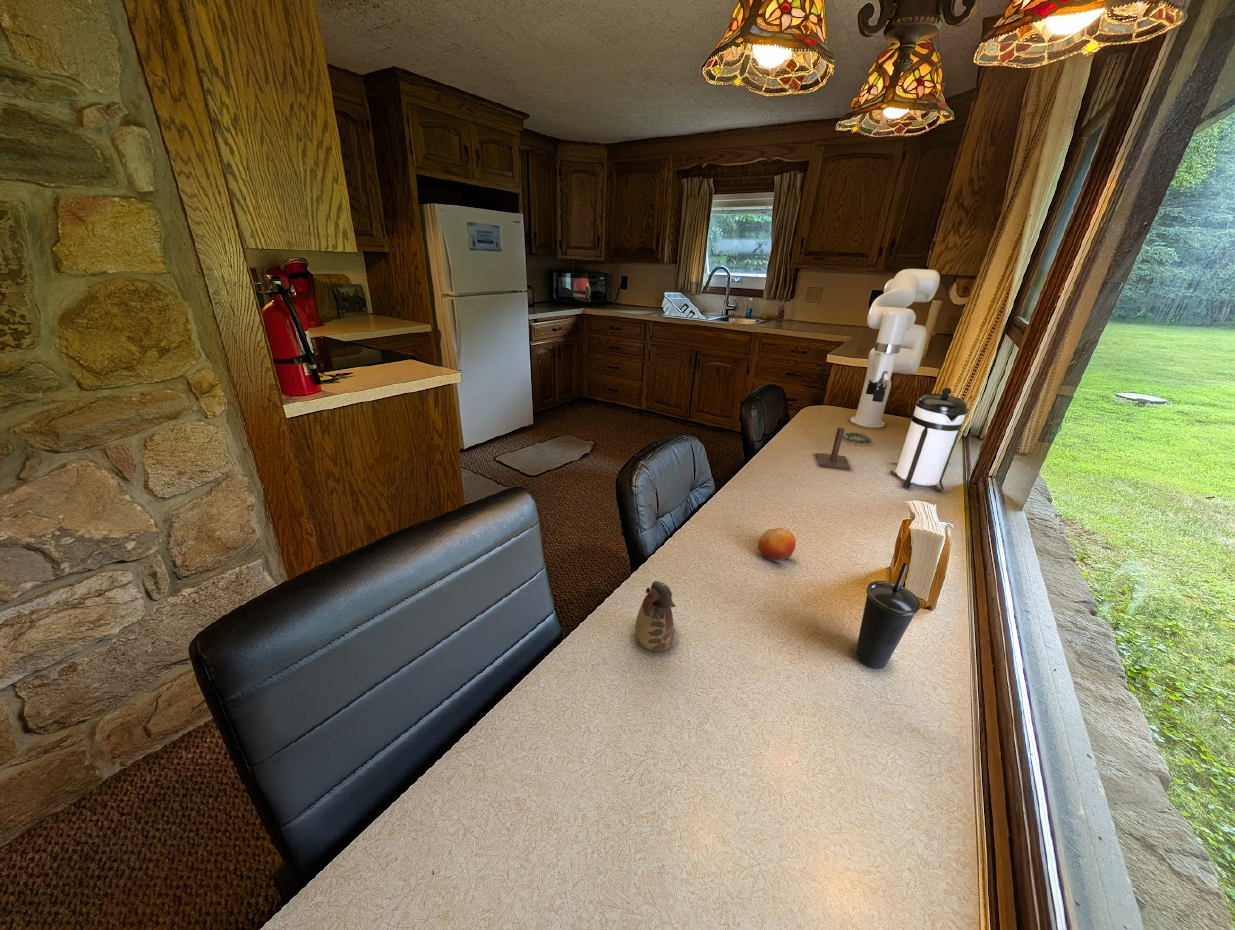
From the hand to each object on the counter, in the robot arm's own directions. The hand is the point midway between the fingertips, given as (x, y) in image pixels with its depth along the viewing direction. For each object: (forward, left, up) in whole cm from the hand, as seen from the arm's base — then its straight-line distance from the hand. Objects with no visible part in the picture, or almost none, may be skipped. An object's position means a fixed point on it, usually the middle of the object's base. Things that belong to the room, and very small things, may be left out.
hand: (873, 397), depth 162 cm
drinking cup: (+107, -19, -18) cm, 110 cm away
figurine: (+113, -56, -18) cm, 127 cm away
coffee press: (+27, +10, -18) cm, 34 cm away
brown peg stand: (+21, -13, -18) cm, 30 cm away
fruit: (+81, -34, -18) cm, 90 cm away
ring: (-4, -1, -17) cm, 18 cm away
